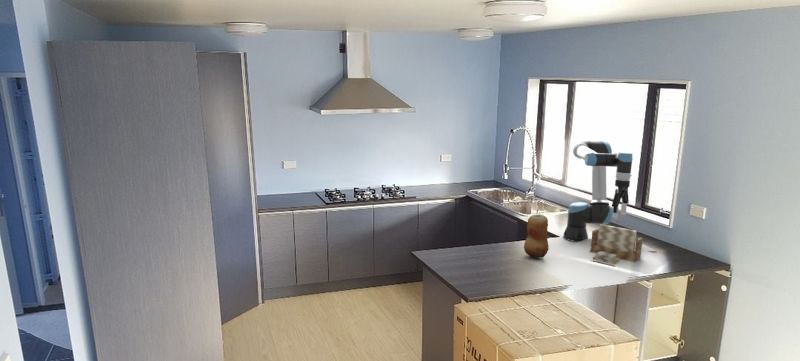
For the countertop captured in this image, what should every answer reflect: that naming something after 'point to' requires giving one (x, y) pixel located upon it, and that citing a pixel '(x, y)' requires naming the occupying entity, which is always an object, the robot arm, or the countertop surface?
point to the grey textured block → (606, 261)
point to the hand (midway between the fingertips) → (619, 216)
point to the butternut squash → (537, 236)
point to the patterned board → (617, 238)
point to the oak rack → (619, 254)
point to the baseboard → (646, 248)
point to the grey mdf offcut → (606, 256)
